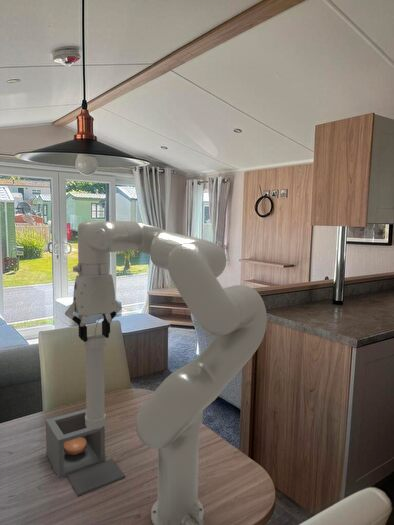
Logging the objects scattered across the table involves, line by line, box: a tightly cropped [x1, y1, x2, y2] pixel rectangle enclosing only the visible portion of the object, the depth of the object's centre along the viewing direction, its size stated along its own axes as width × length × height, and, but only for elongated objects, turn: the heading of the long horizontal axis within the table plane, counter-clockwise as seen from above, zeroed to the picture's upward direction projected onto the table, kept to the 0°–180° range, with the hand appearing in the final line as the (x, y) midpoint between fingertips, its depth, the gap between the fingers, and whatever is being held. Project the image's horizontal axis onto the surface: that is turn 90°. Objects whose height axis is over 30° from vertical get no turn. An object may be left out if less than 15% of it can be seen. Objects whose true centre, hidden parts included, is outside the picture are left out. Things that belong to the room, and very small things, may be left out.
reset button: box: [64, 437, 86, 455], centre depth 112 cm, size 6×6×3 cm
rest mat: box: [66, 458, 126, 497], centre depth 105 cm, size 9×13×1 cm
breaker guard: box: [45, 408, 106, 480], centre depth 112 cm, size 13×13×11 cm
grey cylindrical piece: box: [83, 314, 107, 429], centre depth 102 cm, size 6×6×30 cm
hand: (94, 337), depth 101 cm, fingers closed on grey cylindrical piece, 5 cm apart
